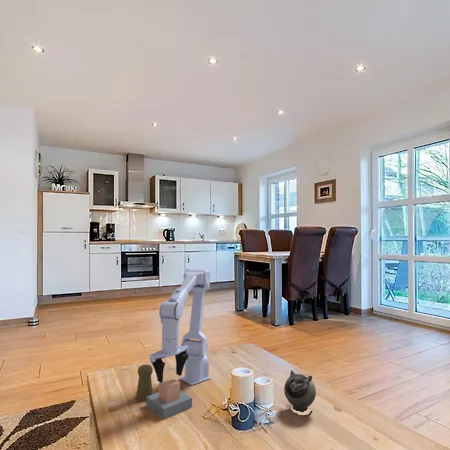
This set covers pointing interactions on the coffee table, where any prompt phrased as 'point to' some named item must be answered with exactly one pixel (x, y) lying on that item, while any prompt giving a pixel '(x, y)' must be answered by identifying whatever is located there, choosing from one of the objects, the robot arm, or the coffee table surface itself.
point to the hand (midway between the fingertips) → (169, 378)
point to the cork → (144, 382)
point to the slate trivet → (168, 404)
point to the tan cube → (169, 390)
